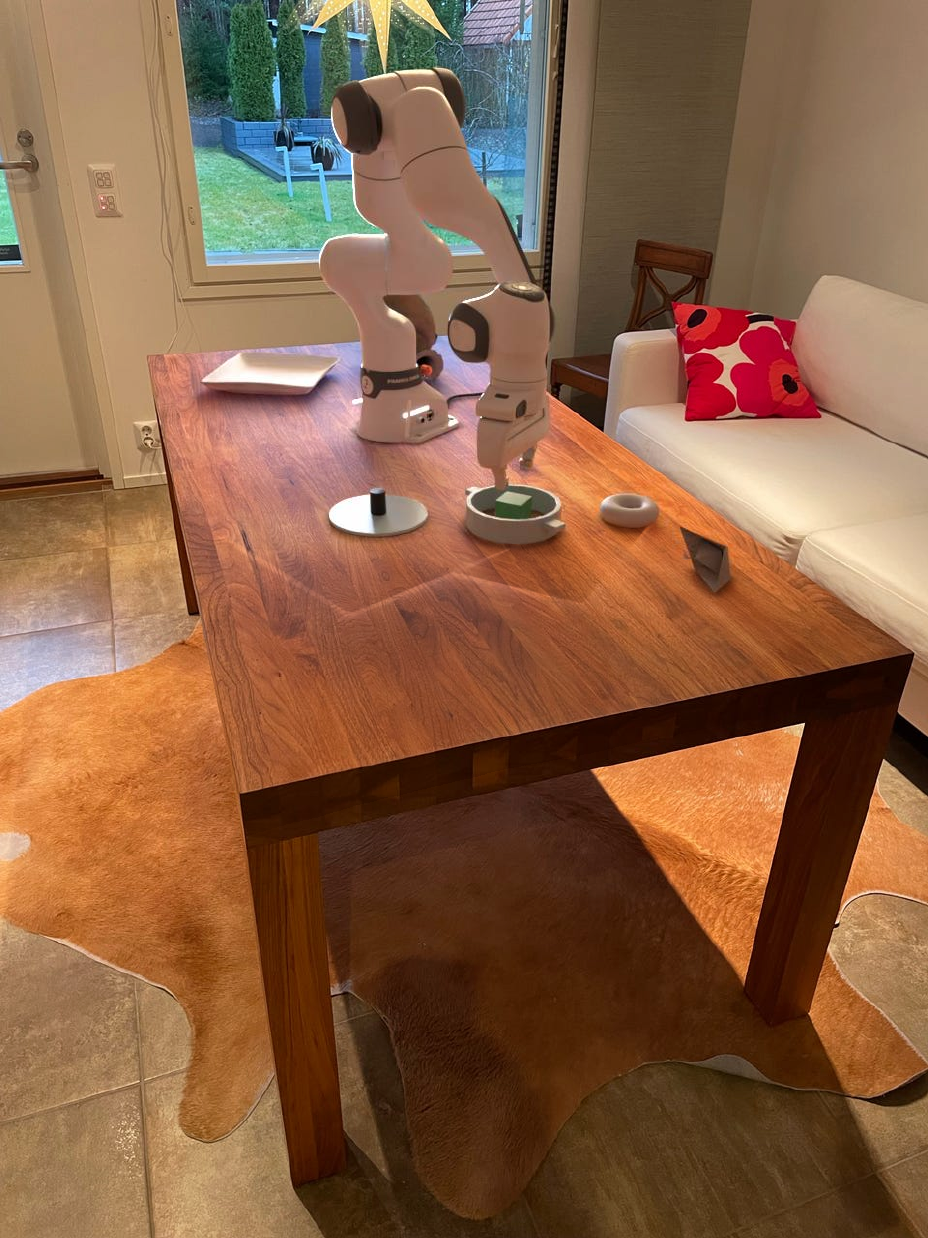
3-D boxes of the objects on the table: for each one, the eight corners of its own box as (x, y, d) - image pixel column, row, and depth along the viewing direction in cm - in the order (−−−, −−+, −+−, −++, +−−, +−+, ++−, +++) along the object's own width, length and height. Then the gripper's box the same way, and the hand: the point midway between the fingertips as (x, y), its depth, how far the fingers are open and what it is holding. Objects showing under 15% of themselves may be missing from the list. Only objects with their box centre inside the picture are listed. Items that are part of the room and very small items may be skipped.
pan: (501, 496, 165) (502, 472, 163) (591, 533, 152) (593, 508, 150) (436, 519, 156) (436, 495, 154) (525, 561, 143) (526, 534, 140)
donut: (653, 536, 152) (662, 512, 160) (655, 517, 150) (664, 494, 158) (593, 527, 154) (605, 504, 162) (594, 508, 153) (607, 486, 161)
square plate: (240, 365, 240) (238, 350, 238) (342, 370, 236) (342, 355, 235) (200, 394, 216) (198, 378, 214) (313, 401, 213) (312, 384, 211)
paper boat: (757, 578, 136) (719, 579, 130) (726, 602, 140) (689, 604, 135) (718, 513, 141) (680, 512, 135) (690, 538, 145) (652, 538, 139)
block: (506, 516, 156) (506, 491, 154) (530, 521, 154) (532, 496, 152) (494, 526, 153) (495, 500, 150) (519, 531, 151) (520, 505, 149)
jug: (358, 355, 250) (394, 404, 229) (343, 285, 236) (380, 331, 215) (427, 335, 254) (468, 381, 233) (417, 265, 240) (460, 308, 220)
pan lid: (386, 492, 166) (385, 465, 163) (448, 521, 155) (448, 492, 153) (309, 517, 156) (307, 488, 153) (369, 549, 145) (368, 519, 143)
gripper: (526, 376, 152) (522, 456, 159) (469, 407, 136) (468, 495, 143) (561, 381, 149) (556, 462, 156) (508, 413, 133) (505, 502, 140)
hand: (514, 478), depth 149 cm, fingers open, 8 cm apart
